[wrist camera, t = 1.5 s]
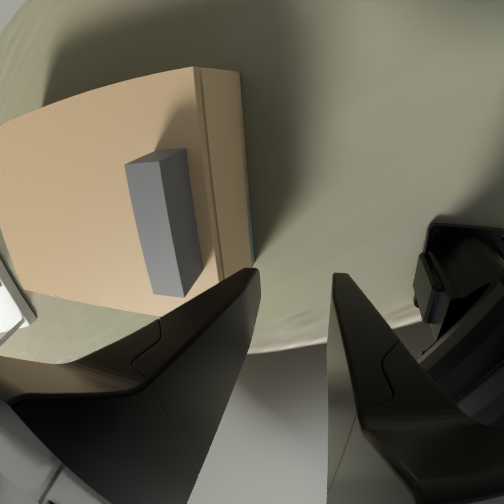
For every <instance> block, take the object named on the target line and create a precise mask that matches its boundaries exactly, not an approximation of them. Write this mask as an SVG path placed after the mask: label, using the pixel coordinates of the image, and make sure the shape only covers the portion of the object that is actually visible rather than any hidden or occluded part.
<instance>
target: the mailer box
mask: <svg viewBox="0 0 504 504" xmlns="http://www.w3.org/2000/svg"><path fill="white" fill-rule="evenodd" d="M199 75H200V86H201V97H202V107H203V117H204V127H205V137H206V146H207V155H208V164H209V173H210V181H211V190H212V198H213V206H214V214H215V222H216V230H217V238H218V246H219V253H220V261H221V268H222V275H223V280H224V279H226V278H227V277H229V276H231V275H232V274H234V273H236V272H237V271H239V270H241V269H242V268H245V267H247V268H252V267H253V265H254V263H255V260H254V247H253V234H252V221H251V209H250V196H249V183H248V171H247V158H246V145H245V133H244V120H243V108H242V95H241V83H240V72H237V71H230V70H222V69H213V68H204V67H200V68H199Z"/></svg>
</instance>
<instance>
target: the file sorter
mask: <svg viewBox="0 0 504 504" xmlns="http://www.w3.org/2000/svg"><path fill="white" fill-rule="evenodd" d="M36 319H37V318H36V316H35V315H34V313H33V312H32V310H31V309H30V307H29V306H28V304H27V303H26V301H25V300H24V298H23V296H22V295H21V293H20V292H19V290H18V288H17V287H16V285H15V283H14V282H13V280H12V278H11V277H10V275H9V273H8V271H7V270H6V268H5V266H4V264H3V262H2V261H1V259H0V333H1V332H5V331H8V332H7V333H6V334H5V335H4V336H3V337H2V338H1V339H0V346H1V345H2V344H3V343H4V342H5V341H6V340H7V339H8V338H9V337H10V336H11V335H12V334H13V333H14V332H15V331H16V330H17V329H18V328H22V327H26V326H30V325H31V324H32V323H33V322H34V321H35V320H36Z"/></svg>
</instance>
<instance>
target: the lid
mask: <svg viewBox="0 0 504 504" xmlns="http://www.w3.org/2000/svg"><path fill="white" fill-rule="evenodd" d="M0 228H1V231H2V234H3V237H4V240H5V243H6V246H7V249H8V251H9V254H10V257H11V259H12V262H13V265H14V267H15V270H16V272H17V275H18V277H19V280H20V282H21V284H22V287H23V289H25V290H29V291H33V292H37V293H42V294H46V295H50V296H55V297H59V298H64V299H69V300H73V301H78V302H83V303H88V304H93V305H98V306H104V307H109V308H114V309H120V310H126V311H131V312H137V313H143V314H149V315H155V316H164V315H165V314H167V313H169V312H170V311H172V310H174V309H175V308H177V307H179V306H180V305H182V304H184V303H186V302H187V301H189V300H191V299H192V298H194V297H196V296H197V295H199V294H201V293H202V292H204V291H206V290H207V289H209V288H211V287H212V286H214V285H216V284H217V283H219V282H221V281H222V280H223V275H222V268H221V261H220V253H219V246H218V238H217V230H216V222H215V214H214V206H213V198H212V190H211V181H210V173H209V164H208V155H207V146H206V137H205V127H204V117H203V107H202V97H201V86H200V75H199V67H187V68H181V69H176V70H171V71H166V72H161V73H156V74H151V75H147V76H143V77H138V78H134V79H130V80H126V81H122V82H119V83H115V84H111V85H108V86H104V87H101V88H97V89H94V90H91V91H88V92H84V93H81V94H78V95H75V96H72V97H69V98H66V99H64V100H61V101H58V102H55V103H52V104H50V105H47V106H45V107H42V108H39V109H37V110H34V111H32V112H30V113H27V114H25V115H22V116H20V117H18V118H15V119H13V120H11V121H9V122H7V123H4V124H2V125H0Z"/></svg>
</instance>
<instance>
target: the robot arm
mask: <svg viewBox="0 0 504 504" xmlns="http://www.w3.org/2000/svg"><path fill="white" fill-rule="evenodd" d="M434 229H438V231H437V232H436V233H434V234H433V233H432V231H433V230H434ZM502 235H504V229H500V228H489V227H478V226H467V225H455V224H442V223H432V224H430V225H429V227H428V229H427V234H426V240H425V246H424V252H422V253H421V254H420V255H419V258H418V263H417V268H416V273H415V278H414V283H413V288H414V291H415V295H414V299H413V301H414V305H415V306H416V307H417V308H419V309H420V313H421V317H422V320H423V322H424V323H425V324H430V325H431V328H432V332H433V336H434V340H435V343H433V345H431V346H430V347H429V348H428V349H427V350H426V351H423V352H421V353H420V354H419V355H418V356H417V358H416V360H415V359H414V357H413V356H412V355H411V354H410V352H409V351H408V350H407V348H406V347H405V346H404V344H403V343H402V342H400V339H399V338H398V337H397V335H396V334H395V333H394V331H393V330H392V329H391V327H390V326H389V325H388V324H387V322H386V321H385V320H384V318H383V317H382V316H381V315H380V313H379V312H378V311H377V309H376V308H375V307H374V306H373V304H372V303H371V302H370V301H369V299H368V298H367V297H366V295H365V294H364V293H363V292H362V290H361V289H360V288H359V287H358V285H357V284H356V283H355V282H354V281H353V279H352V278H351V277H350V276H349V274H347V273H334V274H333V278H332V292H331V305H330V318H329V330H328V341H327V373H328V375H327V376H328V479H327V504H504V236H503V238H501V236H502ZM500 238H501V239H500ZM260 299H261V286H260V273H259V270H258V269H257V268H247V267H245V268H242V269H241V270H239V271H237V272H236V273H234V274H232V275H231V276H229V277H227V278H226V279H224V280H222V281H221V282H219V283H217V284H216V285H214V286H212V287H211V288H209V289H207V290H206V291H204V292H202V293H201V294H199V295H197V296H196V297H194V298H192V299H191V300H189V301H187V302H186V303H184V304H182V305H180V306H179V307H177V308H175V309H174V310H172V311H170V312H169V313H167V314H165V315H164V316H162V317H160V318H159V319H157V320H155V321H153V322H152V323H150V324H148V325H146V326H145V327H143V328H141V329H139V330H138V331H136V332H134V333H132V334H130V335H128V336H126V337H124V338H122V339H120V340H118V341H116V342H114V343H112V344H110V345H108V346H106V347H104V348H101V349H99V350H97V351H95V352H93V353H91V354H89V355H87V356H84V357H82V358H80V359H78V360H75V361H73V362H69V363H64V364H47V363H40V362H33V361H27V360H21V359H15V358H9V357H3V356H0V504H187V501H188V499H189V497H190V495H191V492H192V490H193V487H194V485H195V483H196V480H197V478H198V474H199V473H200V470H201V468H202V466H203V463H204V461H205V458H206V456H207V453H208V451H209V449H210V446H211V444H212V441H213V439H214V436H215V433H216V431H217V429H218V426H219V424H220V421H221V419H222V416H223V414H224V411H225V409H226V406H227V404H228V401H229V398H230V396H231V393H232V391H233V388H234V386H235V383H236V381H237V378H238V375H239V373H240V370H241V368H242V365H243V362H244V360H245V357H246V355H247V352H248V349H249V346H250V343H251V339H252V335H253V331H254V326H255V322H256V318H257V313H258V309H259V304H260Z"/></svg>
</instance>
